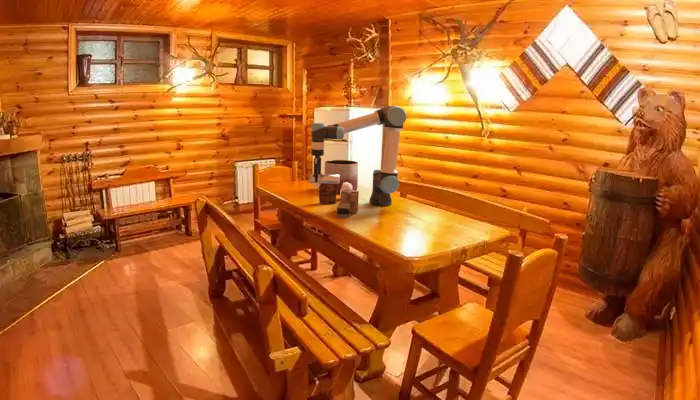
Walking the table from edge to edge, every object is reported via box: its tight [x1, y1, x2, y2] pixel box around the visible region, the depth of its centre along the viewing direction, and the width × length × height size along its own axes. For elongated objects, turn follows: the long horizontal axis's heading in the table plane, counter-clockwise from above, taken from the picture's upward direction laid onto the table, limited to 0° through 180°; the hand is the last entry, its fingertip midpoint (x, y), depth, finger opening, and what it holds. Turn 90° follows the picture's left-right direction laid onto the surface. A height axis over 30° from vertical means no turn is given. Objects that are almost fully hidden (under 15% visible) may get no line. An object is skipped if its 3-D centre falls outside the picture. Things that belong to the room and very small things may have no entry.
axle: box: [308, 173, 340, 184], centre depth 266 cm, size 18×6×6 cm, turn 85°
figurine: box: [339, 182, 354, 199], centre depth 301 cm, size 10×10×12 cm
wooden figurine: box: [318, 183, 338, 205], centre depth 287 cm, size 12×6×18 cm, turn 116°
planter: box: [324, 159, 359, 194], centre depth 329 cm, size 25×25×22 cm
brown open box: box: [340, 189, 360, 215], centre depth 268 cm, size 10×10×13 cm
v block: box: [336, 202, 351, 219], centre depth 258 cm, size 7×10×6 cm
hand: (317, 186), depth 268 cm, fingers closed on axle, 5 cm apart
